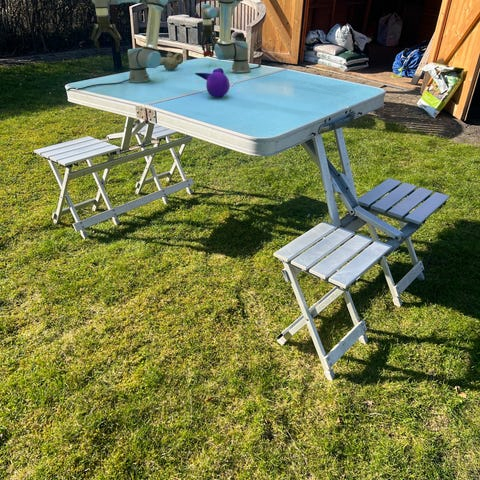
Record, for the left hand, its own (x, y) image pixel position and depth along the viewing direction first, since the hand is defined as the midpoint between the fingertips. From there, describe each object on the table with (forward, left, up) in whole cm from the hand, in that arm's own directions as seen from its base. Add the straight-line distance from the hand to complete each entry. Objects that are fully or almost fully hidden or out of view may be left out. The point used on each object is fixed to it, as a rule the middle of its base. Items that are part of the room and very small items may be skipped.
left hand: (108, 51), depth 295 cm
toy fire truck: (+86, +74, -18) cm, 115 cm away
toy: (+62, -37, -26) cm, 76 cm away
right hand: (+86, +74, -16) cm, 114 cm away
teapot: (+52, +68, -26) cm, 89 cm away
